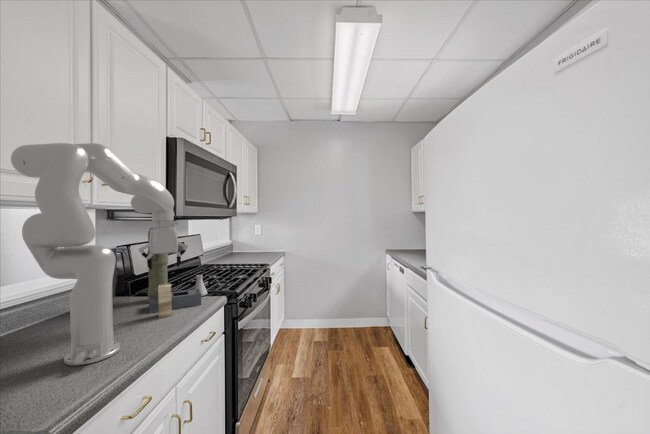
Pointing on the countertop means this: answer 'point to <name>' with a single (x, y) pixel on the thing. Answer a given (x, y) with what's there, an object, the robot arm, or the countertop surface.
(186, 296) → the rail
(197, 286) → the flask
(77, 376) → the countertop surface
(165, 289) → the peg
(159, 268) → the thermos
